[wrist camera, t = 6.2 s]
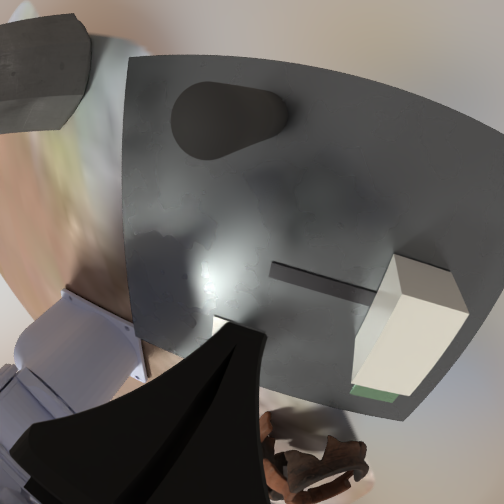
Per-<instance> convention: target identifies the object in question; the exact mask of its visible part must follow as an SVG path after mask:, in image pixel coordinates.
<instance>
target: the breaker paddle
mask: <svg viewBox="0 0 504 504" xmlns="http://www.w3.org/2000/svg"><path fill="white" fill-rule="evenodd" d="M468 315H469V312H468V309H467V307H466V304H465V302H464V300H463V297H462V295H461V293H460V290H459V288H458V286H457V284H456V282H455V279H454V277H453V275H452V273H451V272H448V271H445V270H442V269H439V268H436V267H433V266H430V265H427V264H424V263H421V262H418V261H415V260H412V259H409V258H405V257H402V256H399V255H396V254H393V257H392V259H391V262H390V264H389V266H388V269H387V271H386V274H385V276H384V278H383V281H382V283H381V285H380V287H379V290H378V292H377V294H376V296H375V298H374V301H373V303H372V305H371V307H370V309H369V311H368V313H367V316H366V318H365V320H364V322H363V324H362V326H361V328H360V330H359V332H358V334H357V336H356V338H355V348H354V360H353V370H352V380H351V384H355V385H360V386H364V387H368V388H373V389H377V390H382V391H386V392H391V393H396V394H401V395H406V396H410V395H411V394H412V392H413V391H414V390H415V389H416V388H417V387H418V385H419V384H420V383H421V382H422V380H423V379H424V378H425V377H426V375H427V374H428V373H429V372H430V370H431V369H432V368H433V366H434V365H435V364H436V362H437V361H438V360H439V358H440V357H441V356H442V354H443V353H444V352H445V350H446V349H447V347H448V346H449V344H450V343H451V342H452V340H453V339H454V337H455V336H456V334H457V333H458V331H459V330H460V328H461V327H462V325H463V323H464V322H465V320H466V319H467V317H468Z"/></svg>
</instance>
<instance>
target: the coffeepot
mask: <svg viewBox="0 0 504 504" xmlns="http://www.w3.org/2000/svg"><path fill="white" fill-rule="evenodd" d="M90 63H91V41H90V38H89V35H88V33H87V31H86V28H85V26H84V25H83V24H82V23H81V22H80V21H79V20H77V18H76V16H75V15H74V13H71V14H61V15H52V16H44V17H38V18H31V19H26V20H20V21H15V22H11V23H6V24H2V25H0V134H6V133H17V132H29V131H44V130H60V129H61V128H62V126H63V125H64V124H65V123H66V121H67V120H68V119H69V118H70V117H71V115H72V114H73V113H74V112H75V110H76V108H77V107H78V105H79V103H80V101H81V99H82V96H83V95H84V92H85V88H86V85H87V81H88V77H89V71H90Z"/></svg>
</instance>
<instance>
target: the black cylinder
mask: <svg viewBox="0 0 504 504" xmlns="http://www.w3.org/2000/svg"><path fill="white" fill-rule="evenodd" d="M287 118H288V112H287V108H286V105H285V103H284V101H283V100H282V99H281V98H280V97H279V96H278V95H277V94H275V93H273V92H270V91H266V90H261V89H255V88H250V87H244V86H238V85H232V84H225V83H218V82H211V81H205V82H199V83H196V84H194V85H191V86H190V87H188V88H187V89H185V90H184V91H183V92H182V93H181V94H180V95H179V97H178V98H177V100H176V101H175V103H174V106H173V108H172V112H171V130H172V133H173V136H174V138H175V141H176V142H177V144H178V145H179V147H180V148H181V149H182V150H183V151H184V152H185V153H187V154H188V155H190V156H192V157H194V158H196V159H200V160H215V159H219V158H221V157H224V156H226V155H229V154H231V153H233V152H236V151H238V150H241V149H243V148H246V147H248V146H251V145H253V144H256V143H259V142H261V141H264V140H266V139H269V138H272V137H274V136H276V135H278V134H279V133H280V132H281V131H282V130H283V129H284V127H285V125H286V123H287Z"/></svg>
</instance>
